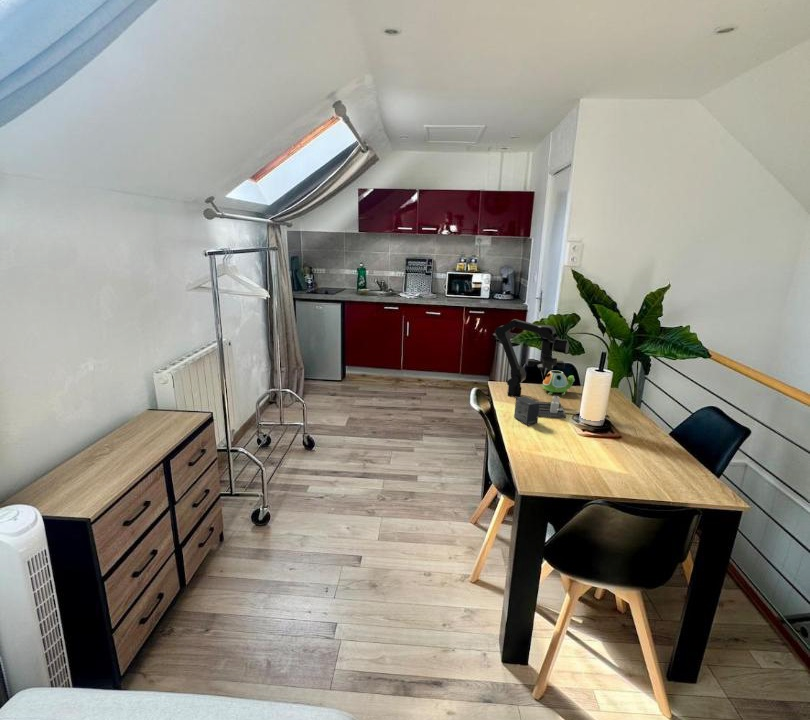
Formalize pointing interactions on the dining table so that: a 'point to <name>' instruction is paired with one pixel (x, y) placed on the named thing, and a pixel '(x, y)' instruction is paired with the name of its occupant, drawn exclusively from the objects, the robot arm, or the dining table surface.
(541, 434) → the dining table surface
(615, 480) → the dining table surface
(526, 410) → the small box
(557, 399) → the fader
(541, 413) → the console
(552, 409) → the fader
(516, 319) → the robot arm
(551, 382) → the turtle holder
